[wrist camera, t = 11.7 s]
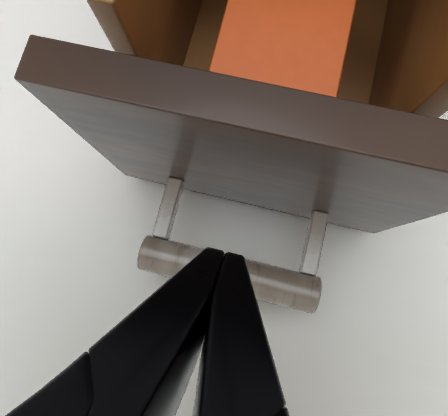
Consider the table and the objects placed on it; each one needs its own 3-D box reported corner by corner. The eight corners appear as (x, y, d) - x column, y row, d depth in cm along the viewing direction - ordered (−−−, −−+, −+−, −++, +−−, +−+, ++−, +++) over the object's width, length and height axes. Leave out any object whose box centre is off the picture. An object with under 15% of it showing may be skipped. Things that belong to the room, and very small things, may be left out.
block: (308, 151, 15) (335, 106, 11) (214, 131, 16) (205, 80, 11) (327, 64, 16) (358, -9, 12) (236, 46, 16) (235, -31, 12)
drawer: (358, 322, 15) (507, 385, 7) (100, 257, 16) (-49, 240, 8) (420, -29, 18) (576, -287, 10) (198, -67, 19) (167, -332, 11)
